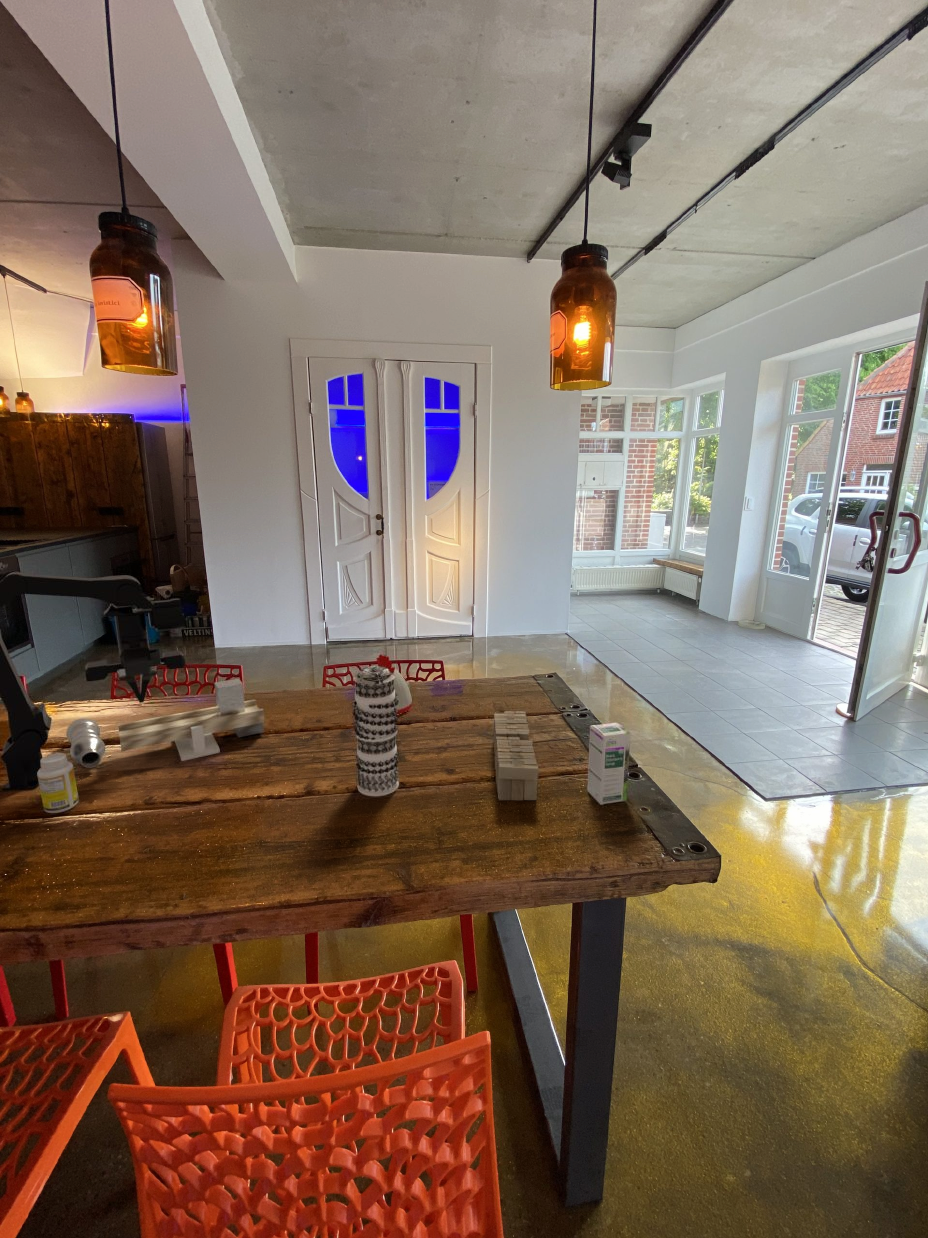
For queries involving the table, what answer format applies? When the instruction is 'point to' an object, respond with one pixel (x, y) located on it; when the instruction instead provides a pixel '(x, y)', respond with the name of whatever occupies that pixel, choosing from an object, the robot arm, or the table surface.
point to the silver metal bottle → (85, 742)
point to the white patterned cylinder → (376, 731)
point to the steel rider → (229, 697)
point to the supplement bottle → (57, 783)
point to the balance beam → (189, 726)
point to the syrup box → (608, 763)
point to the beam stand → (197, 744)
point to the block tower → (514, 757)
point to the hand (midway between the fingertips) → (141, 702)
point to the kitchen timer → (398, 685)
